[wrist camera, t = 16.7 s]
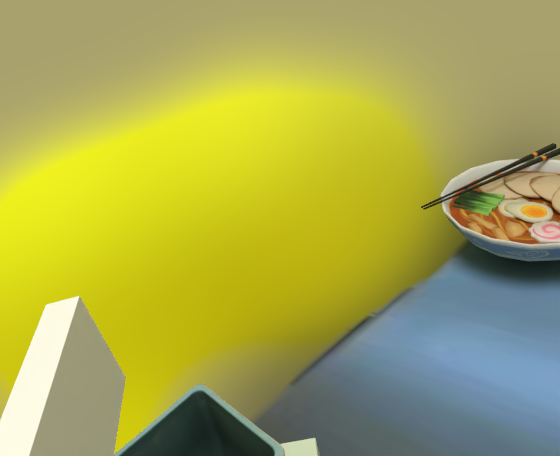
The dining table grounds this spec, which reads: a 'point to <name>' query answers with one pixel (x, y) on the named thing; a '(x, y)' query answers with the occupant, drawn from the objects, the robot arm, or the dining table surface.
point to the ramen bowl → (509, 206)
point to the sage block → (301, 448)
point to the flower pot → (201, 431)
